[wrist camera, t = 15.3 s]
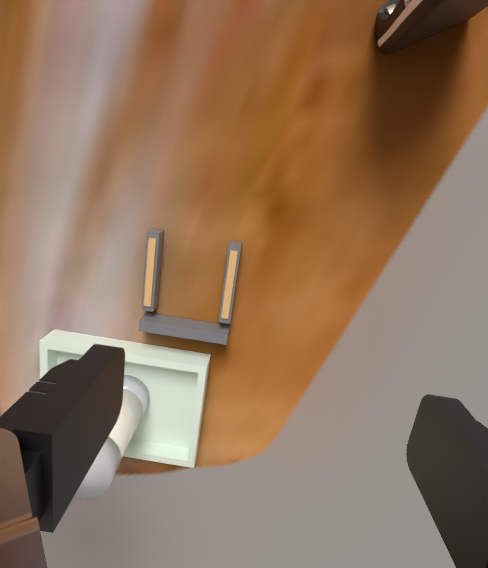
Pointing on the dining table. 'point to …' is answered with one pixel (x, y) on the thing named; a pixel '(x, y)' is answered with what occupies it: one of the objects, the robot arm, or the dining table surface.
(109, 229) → the dining table surface
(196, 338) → the grey u-shaped bracket
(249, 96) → the dining table surface
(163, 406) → the parts tray
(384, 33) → the dark grey block
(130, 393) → the fuse
